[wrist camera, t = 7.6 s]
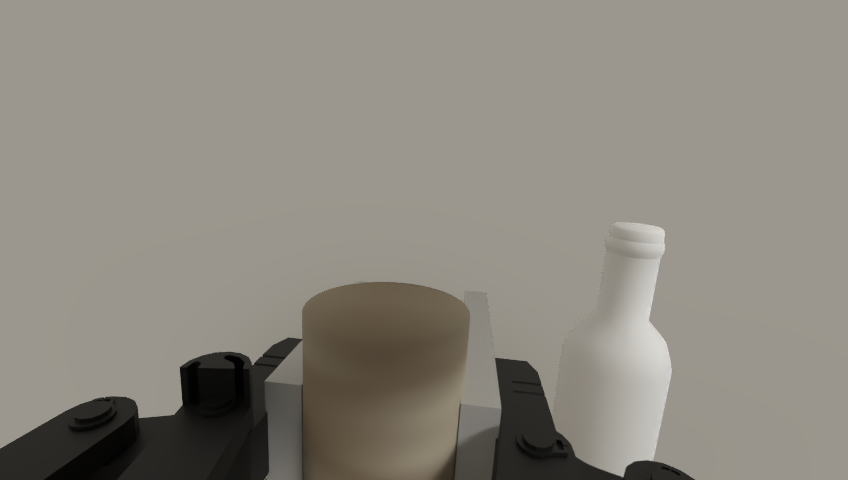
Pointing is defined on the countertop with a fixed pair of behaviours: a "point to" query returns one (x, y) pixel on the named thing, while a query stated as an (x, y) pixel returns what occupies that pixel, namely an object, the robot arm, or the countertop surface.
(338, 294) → the pin
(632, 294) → the bottle
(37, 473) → the robot arm
